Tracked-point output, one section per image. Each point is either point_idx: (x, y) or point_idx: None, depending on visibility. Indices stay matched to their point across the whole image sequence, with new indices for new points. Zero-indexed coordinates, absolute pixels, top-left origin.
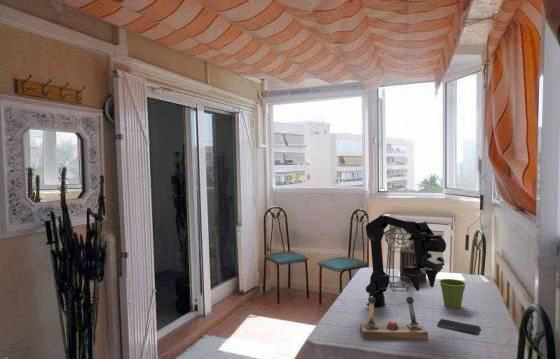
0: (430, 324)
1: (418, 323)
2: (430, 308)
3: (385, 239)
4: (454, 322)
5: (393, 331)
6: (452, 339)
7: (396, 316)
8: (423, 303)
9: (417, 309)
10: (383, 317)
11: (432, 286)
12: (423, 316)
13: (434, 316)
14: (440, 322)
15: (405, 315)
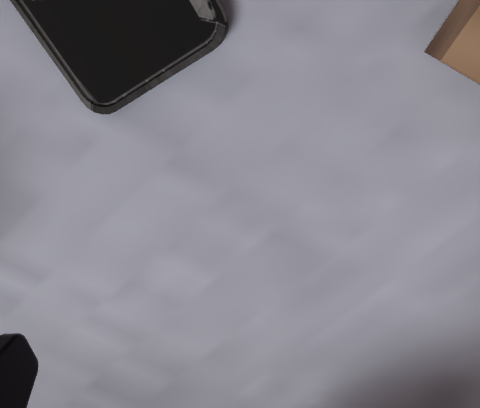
0: (249, 97)
1: (465, 64)
2: (21, 314)
3: None
4: (37, 6)
5: None
6: None
7: (361, 328)
8: None
9: (121, 342)
10: (462, 358)
11: (16, 348)
12: (175, 240)
13: (95, 201)
14: (158, 65)
15: (285, 312)
